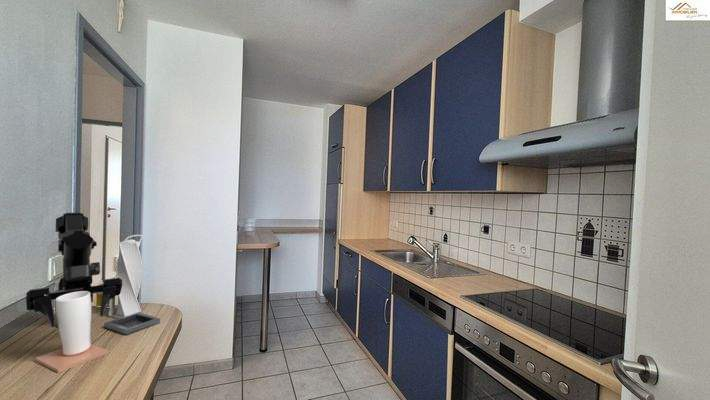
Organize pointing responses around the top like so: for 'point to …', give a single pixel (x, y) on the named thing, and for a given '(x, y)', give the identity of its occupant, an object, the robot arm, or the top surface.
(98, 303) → the supplement bottle
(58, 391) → the top surface
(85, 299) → the white cup
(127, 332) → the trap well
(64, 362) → the terracotta tile
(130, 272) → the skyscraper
